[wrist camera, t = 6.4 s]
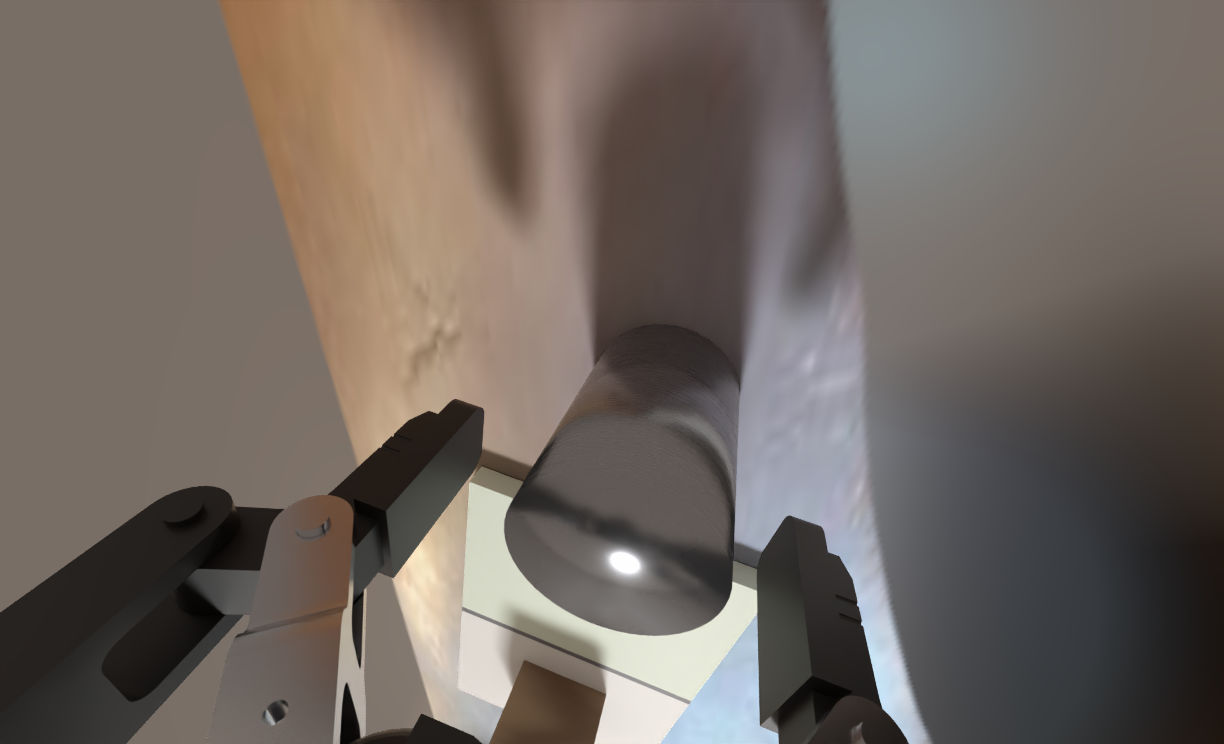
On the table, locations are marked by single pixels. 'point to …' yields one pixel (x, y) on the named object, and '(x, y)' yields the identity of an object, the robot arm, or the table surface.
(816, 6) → the table surface
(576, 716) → the walnut block
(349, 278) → the table surface
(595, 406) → the grey cylinder
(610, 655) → the board
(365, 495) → the robot arm
